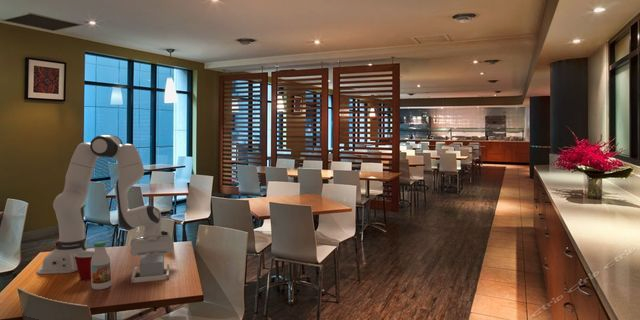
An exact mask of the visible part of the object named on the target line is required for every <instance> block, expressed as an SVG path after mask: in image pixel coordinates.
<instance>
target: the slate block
mask: <svg viewBox="0 0 640 320" xmlns="http://www.w3.org/2000/svg"><path fill="white" fill-rule="evenodd" d="M164 255H165V253H162V254H150V255H141V257H140V262H139V277H145V276H156V275H165V273H164V272H165V256H164Z"/></svg>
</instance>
